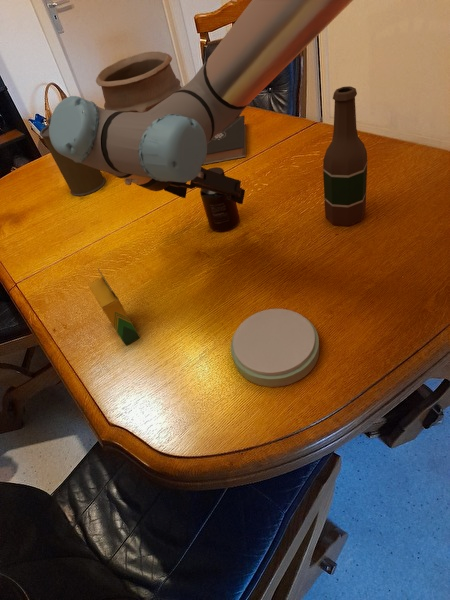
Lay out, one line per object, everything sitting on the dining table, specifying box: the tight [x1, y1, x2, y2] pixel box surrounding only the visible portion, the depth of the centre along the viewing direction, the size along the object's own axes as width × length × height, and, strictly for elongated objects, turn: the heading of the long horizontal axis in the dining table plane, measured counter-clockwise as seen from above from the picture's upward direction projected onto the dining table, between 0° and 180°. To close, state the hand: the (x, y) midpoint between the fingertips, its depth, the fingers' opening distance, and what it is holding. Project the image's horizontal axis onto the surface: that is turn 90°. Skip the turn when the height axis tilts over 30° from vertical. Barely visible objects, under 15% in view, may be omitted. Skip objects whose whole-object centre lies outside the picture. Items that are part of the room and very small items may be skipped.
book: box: [201, 115, 247, 166], centre depth 116 cm, size 22×15×3 cm
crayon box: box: [88, 268, 141, 347], centre depth 67 cm, size 7×3×12 cm, turn 32°
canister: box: [39, 114, 106, 197], centre depth 110 cm, size 11×10×20 cm
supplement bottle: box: [199, 166, 241, 232], centre depth 84 cm, size 7×7×12 cm
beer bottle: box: [322, 85, 368, 227], centre depth 73 cm, size 8×8×24 cm
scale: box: [230, 308, 320, 388], centre depth 60 cm, size 13×13×3 cm
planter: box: [95, 51, 183, 113], centre depth 124 cm, size 25×24×22 cm
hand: (212, 194), depth 82 cm, fingers open, 13 cm apart
